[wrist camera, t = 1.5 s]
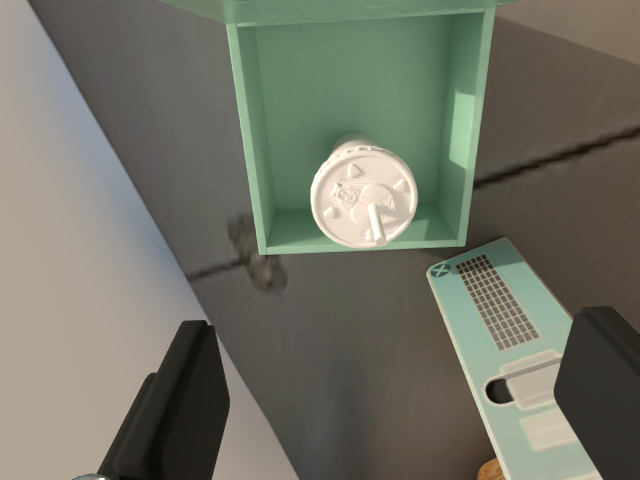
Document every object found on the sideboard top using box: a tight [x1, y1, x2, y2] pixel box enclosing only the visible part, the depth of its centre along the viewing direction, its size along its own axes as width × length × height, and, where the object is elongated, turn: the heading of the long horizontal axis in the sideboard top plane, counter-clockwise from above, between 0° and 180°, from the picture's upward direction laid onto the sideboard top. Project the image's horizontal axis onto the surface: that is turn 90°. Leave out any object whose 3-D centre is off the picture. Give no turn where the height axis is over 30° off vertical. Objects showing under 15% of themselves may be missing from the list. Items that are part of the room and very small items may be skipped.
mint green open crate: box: [226, 7, 496, 255], centre depth 29 cm, size 15×15×7 cm
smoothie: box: [311, 132, 418, 249], centre depth 27 cm, size 6×6×14 cm
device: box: [426, 237, 603, 480], centre depth 28 cm, size 16×8×30 cm, turn 27°
